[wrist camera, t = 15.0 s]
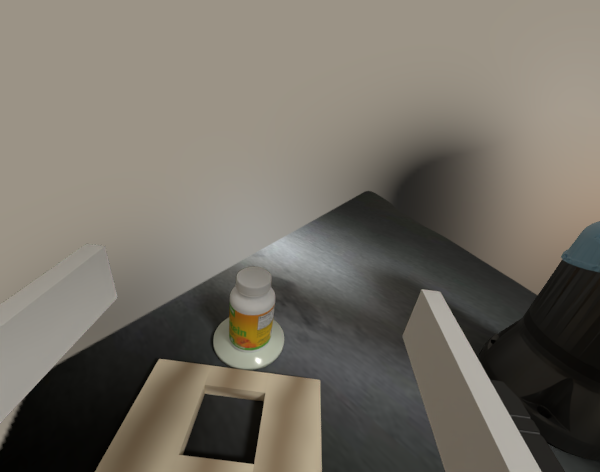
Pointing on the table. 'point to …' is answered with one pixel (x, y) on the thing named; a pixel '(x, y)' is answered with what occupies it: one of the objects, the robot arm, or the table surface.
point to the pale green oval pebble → (244, 359)
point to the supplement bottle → (251, 310)
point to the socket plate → (184, 408)
